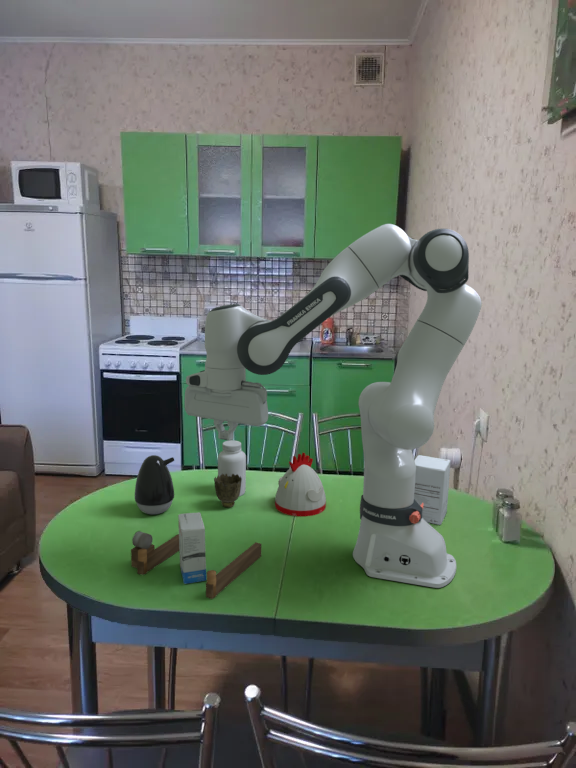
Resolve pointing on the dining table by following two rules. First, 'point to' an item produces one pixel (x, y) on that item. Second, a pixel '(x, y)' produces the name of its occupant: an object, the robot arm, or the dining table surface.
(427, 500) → the supplement box
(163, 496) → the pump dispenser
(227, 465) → the pill bottle
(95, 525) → the dining table surface
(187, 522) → the ink box
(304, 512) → the kitchen timer
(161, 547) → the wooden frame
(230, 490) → the cup
